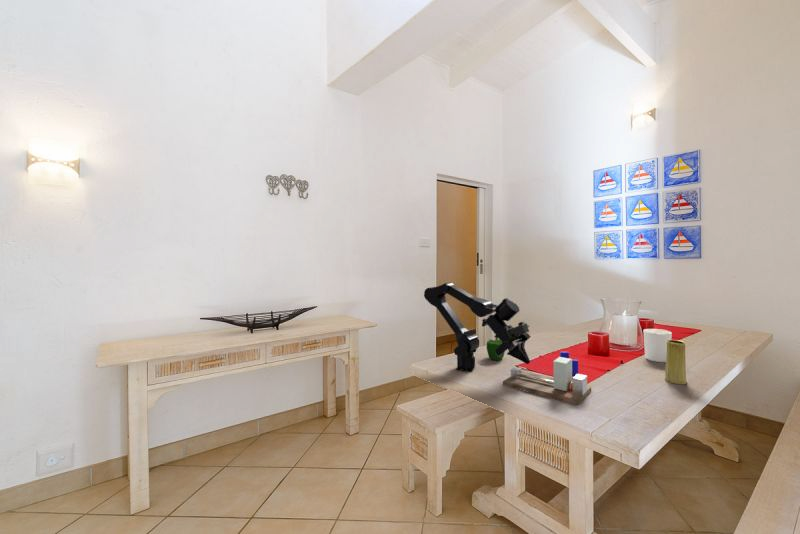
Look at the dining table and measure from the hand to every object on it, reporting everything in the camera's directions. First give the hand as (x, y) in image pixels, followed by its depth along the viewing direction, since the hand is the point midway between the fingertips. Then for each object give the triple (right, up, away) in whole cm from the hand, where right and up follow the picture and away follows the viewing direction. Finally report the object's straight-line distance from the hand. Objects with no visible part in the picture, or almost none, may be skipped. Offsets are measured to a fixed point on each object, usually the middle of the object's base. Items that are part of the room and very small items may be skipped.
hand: (529, 363), depth 125 cm
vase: (+52, -6, -1) cm, 52 cm away
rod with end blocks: (+5, -7, -4) cm, 9 cm away
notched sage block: (+9, -6, -8) cm, 13 cm away
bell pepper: (-3, -7, +30) cm, 31 cm away
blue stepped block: (+20, -7, +13) cm, 25 cm away
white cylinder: (+63, -5, +23) cm, 68 cm away
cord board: (+4, -8, -4) cm, 10 cm away
